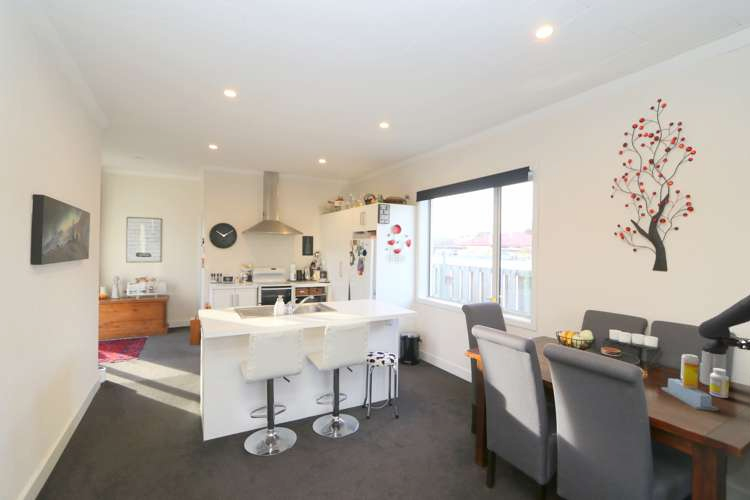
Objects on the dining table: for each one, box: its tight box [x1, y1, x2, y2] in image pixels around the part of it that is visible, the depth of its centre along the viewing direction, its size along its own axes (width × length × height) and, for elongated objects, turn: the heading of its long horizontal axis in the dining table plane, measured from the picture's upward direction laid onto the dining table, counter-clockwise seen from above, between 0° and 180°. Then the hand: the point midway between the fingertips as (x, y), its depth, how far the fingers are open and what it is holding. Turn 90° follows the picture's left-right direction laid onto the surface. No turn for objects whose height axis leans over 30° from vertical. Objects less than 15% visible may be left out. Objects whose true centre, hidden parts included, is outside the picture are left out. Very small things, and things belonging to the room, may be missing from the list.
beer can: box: [680, 353, 700, 389], centre depth 169 cm, size 6×6×15 cm
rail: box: [661, 378, 719, 412], centre depth 169 cm, size 22×9×6 cm, turn 175°
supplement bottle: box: [709, 368, 730, 399], centre depth 174 cm, size 7×7×13 cm
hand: (723, 340), depth 161 cm, fingers open, 8 cm apart
